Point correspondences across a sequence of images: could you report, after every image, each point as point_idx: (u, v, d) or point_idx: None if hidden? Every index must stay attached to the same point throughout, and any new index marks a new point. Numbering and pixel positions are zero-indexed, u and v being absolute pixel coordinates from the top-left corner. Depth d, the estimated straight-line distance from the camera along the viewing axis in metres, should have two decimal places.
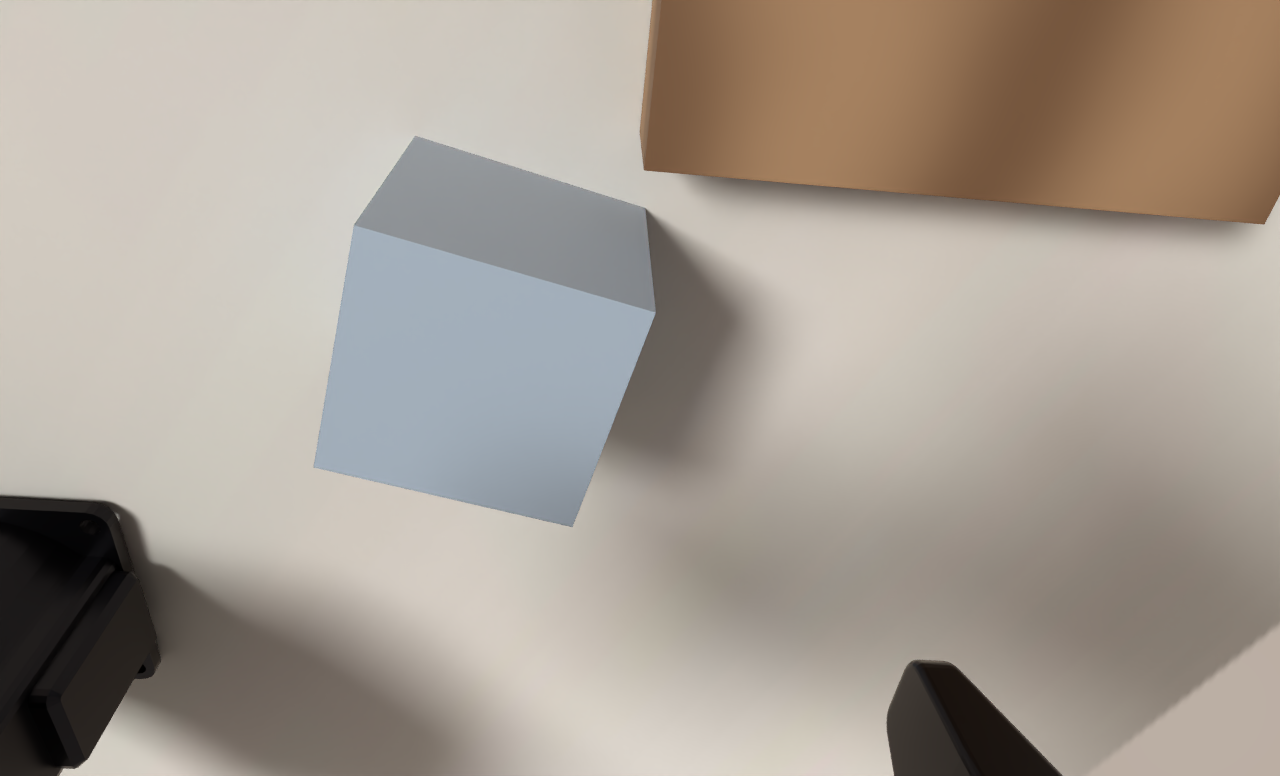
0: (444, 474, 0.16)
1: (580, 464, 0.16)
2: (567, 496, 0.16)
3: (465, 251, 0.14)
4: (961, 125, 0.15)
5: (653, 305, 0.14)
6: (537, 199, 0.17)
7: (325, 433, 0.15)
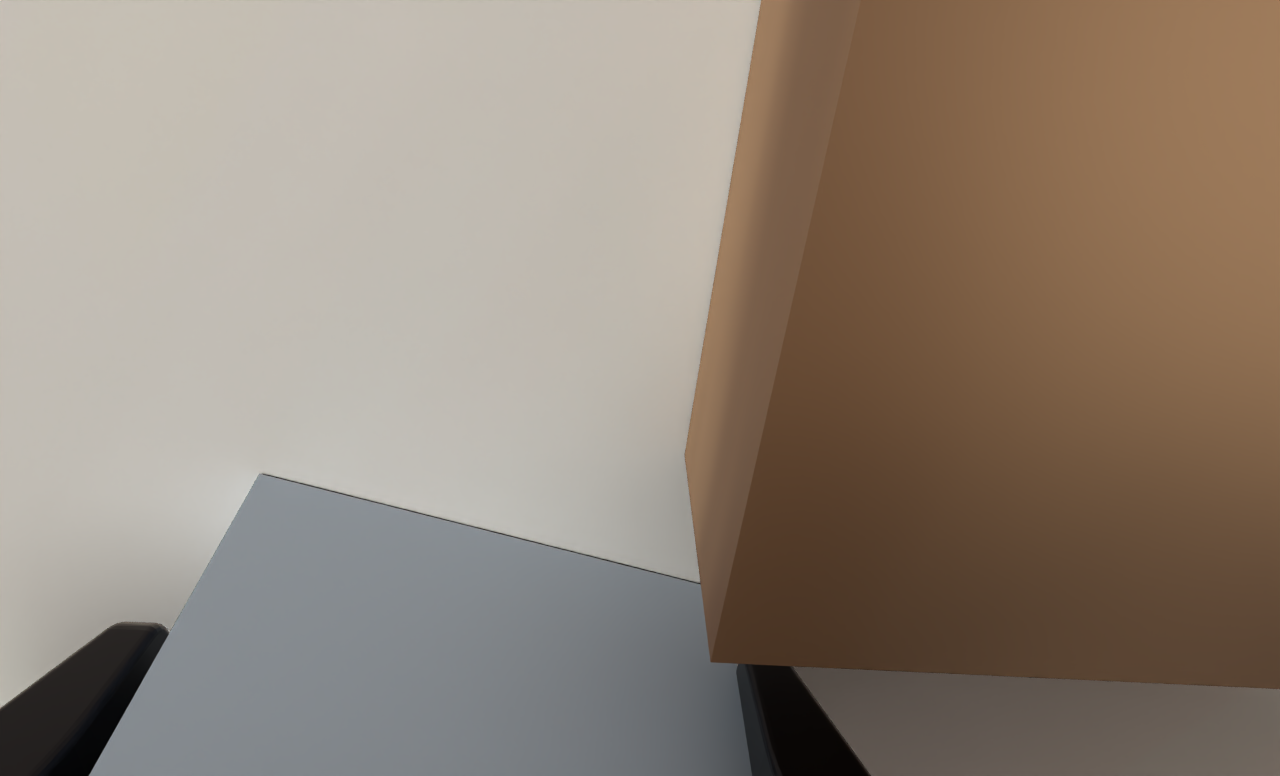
0: None
1: None
2: None
3: None
4: None
5: None
6: (509, 658, 0.07)
7: None
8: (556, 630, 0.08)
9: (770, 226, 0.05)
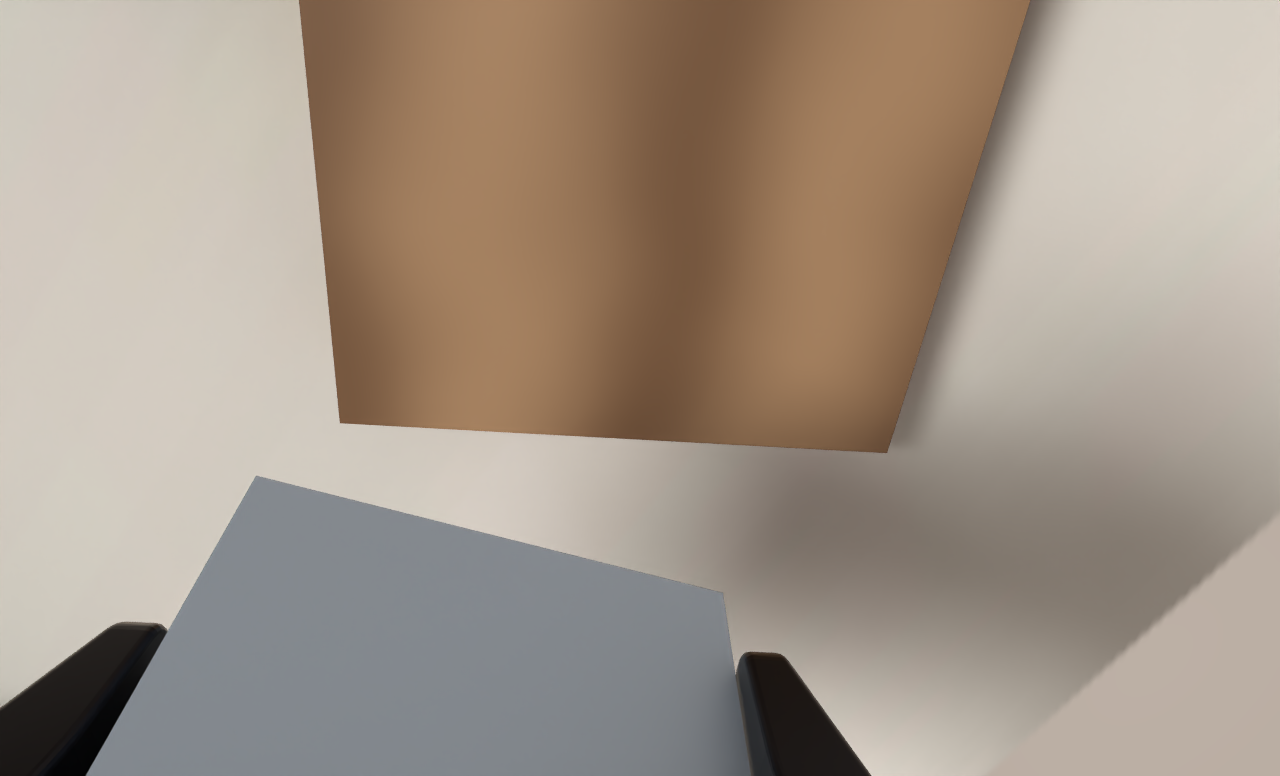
0: None
1: None
2: None
3: None
4: (607, 386, 0.18)
5: None
6: (506, 660, 0.07)
7: None
8: (553, 633, 0.08)
9: None
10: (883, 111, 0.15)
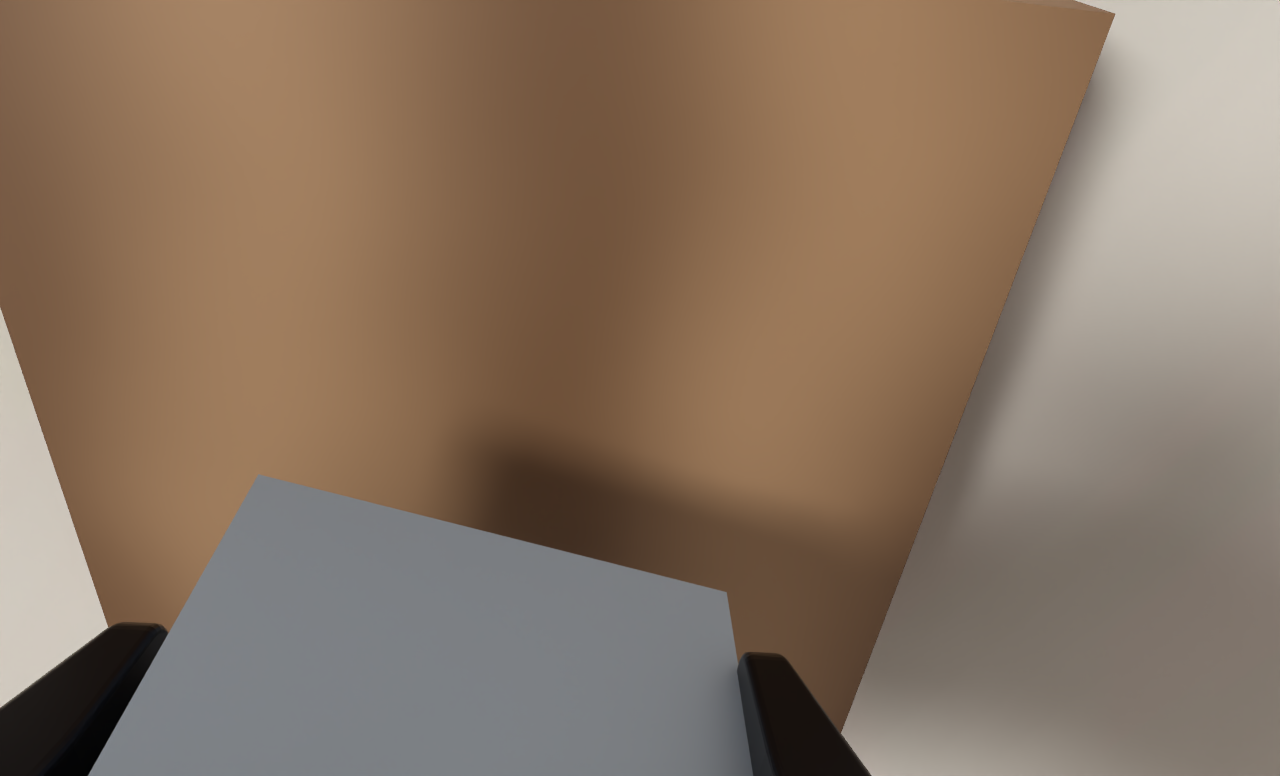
0: None
1: None
2: None
3: None
4: None
5: None
6: (509, 661, 0.07)
7: None
8: (557, 632, 0.08)
9: None
10: (818, 382, 0.11)
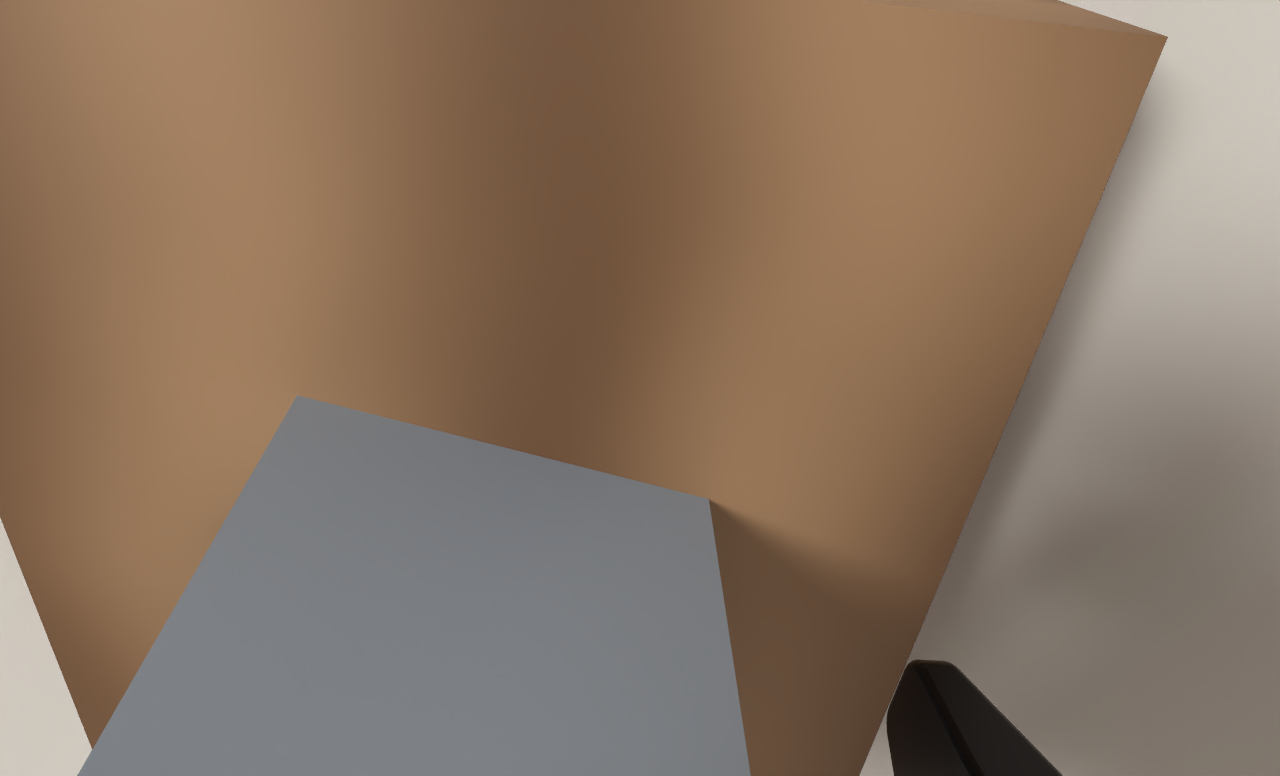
0: None
1: None
2: None
3: None
4: None
5: None
6: (516, 543, 0.09)
7: None
8: (557, 523, 0.09)
9: None
10: (832, 432, 0.10)
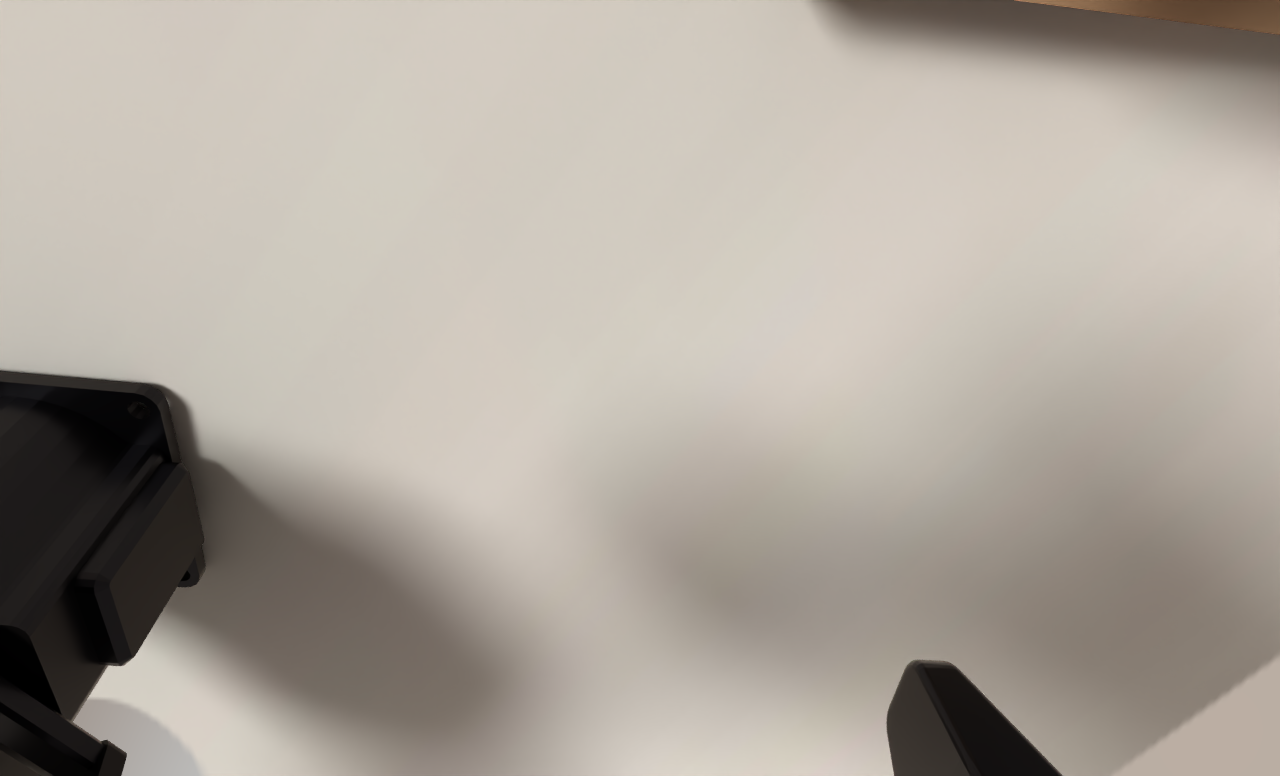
0: None
1: None
2: None
3: None
4: None
5: None
6: None
7: None
8: None
9: None
10: None
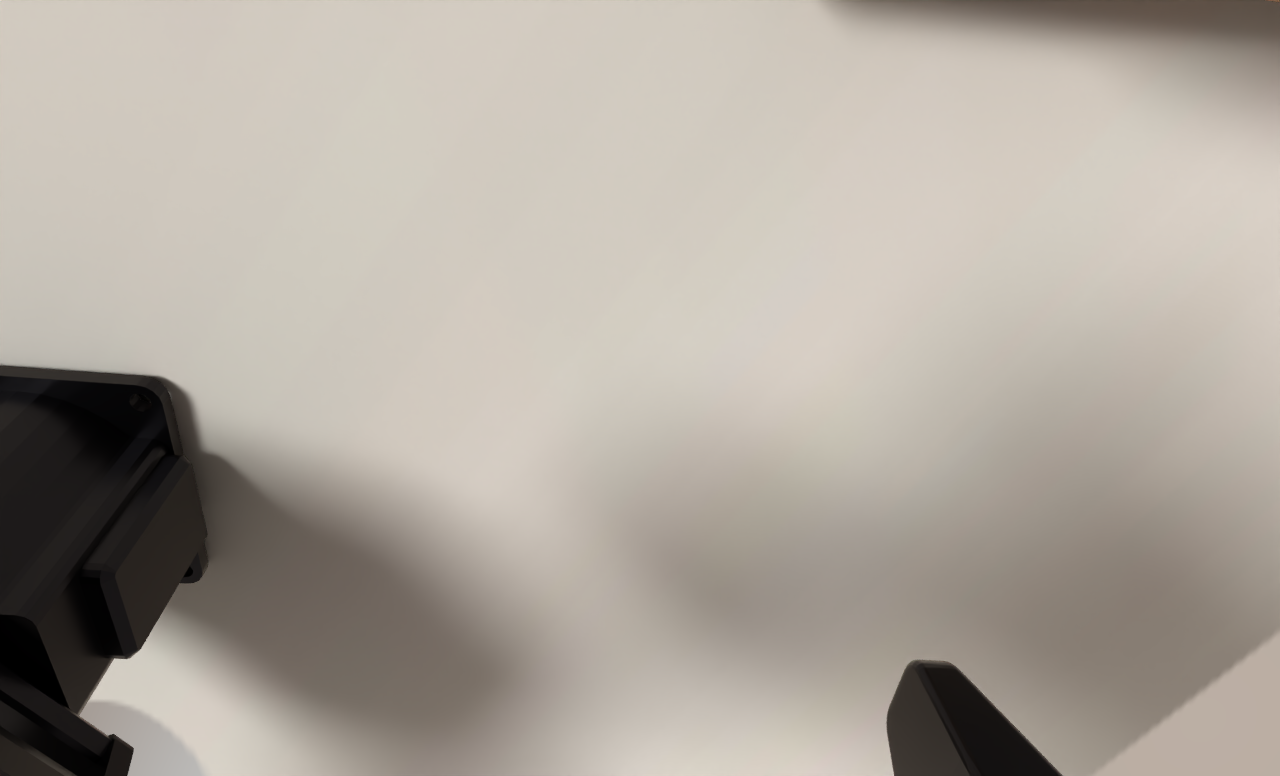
0: None
1: None
2: None
3: None
4: None
5: None
6: None
7: None
8: None
9: None
10: None
